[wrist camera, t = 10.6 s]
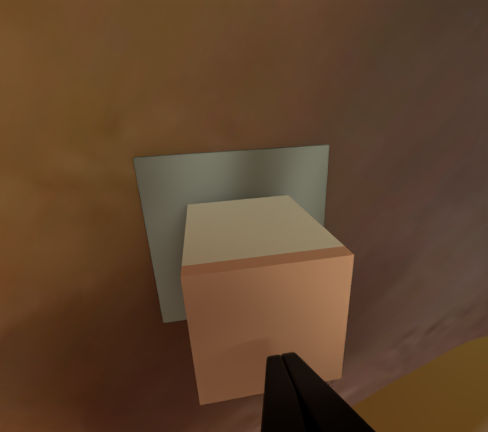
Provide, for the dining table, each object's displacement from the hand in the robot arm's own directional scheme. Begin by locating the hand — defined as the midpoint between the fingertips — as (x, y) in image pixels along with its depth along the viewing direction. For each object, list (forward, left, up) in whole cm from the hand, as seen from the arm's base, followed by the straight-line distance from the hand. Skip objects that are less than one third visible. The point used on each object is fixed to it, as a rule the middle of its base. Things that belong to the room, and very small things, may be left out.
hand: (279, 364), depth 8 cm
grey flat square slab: (0, 0, -9) cm, 9 cm away
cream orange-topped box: (0, 0, -8) cm, 8 cm away
